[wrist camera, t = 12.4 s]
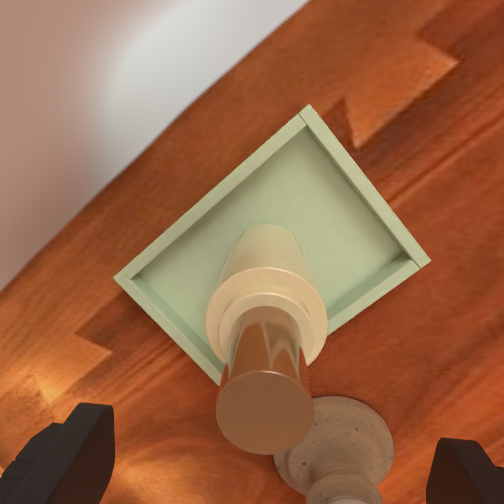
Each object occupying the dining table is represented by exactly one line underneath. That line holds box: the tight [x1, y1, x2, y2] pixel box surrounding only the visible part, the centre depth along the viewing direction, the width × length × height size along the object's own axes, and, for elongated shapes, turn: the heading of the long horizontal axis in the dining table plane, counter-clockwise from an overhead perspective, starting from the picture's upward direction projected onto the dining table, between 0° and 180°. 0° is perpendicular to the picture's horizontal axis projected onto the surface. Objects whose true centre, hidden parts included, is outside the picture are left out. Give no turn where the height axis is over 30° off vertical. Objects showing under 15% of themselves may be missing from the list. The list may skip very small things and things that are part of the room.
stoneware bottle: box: [205, 224, 328, 455], centre depth 18 cm, size 5×5×14 cm
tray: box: [113, 104, 431, 386], centre depth 24 cm, size 16×12×2 cm
